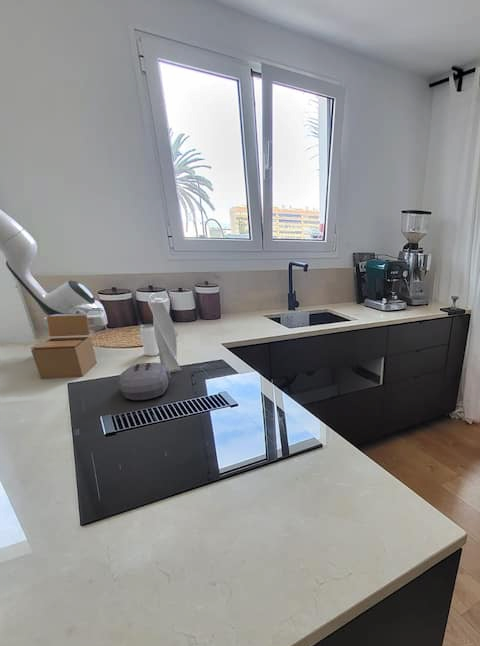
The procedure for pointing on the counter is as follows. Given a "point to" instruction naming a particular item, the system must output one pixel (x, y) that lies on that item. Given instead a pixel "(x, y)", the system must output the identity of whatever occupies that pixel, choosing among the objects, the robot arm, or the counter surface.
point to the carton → (64, 357)
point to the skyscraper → (164, 333)
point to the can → (149, 340)
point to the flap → (68, 325)
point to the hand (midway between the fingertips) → (68, 324)
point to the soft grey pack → (144, 381)
